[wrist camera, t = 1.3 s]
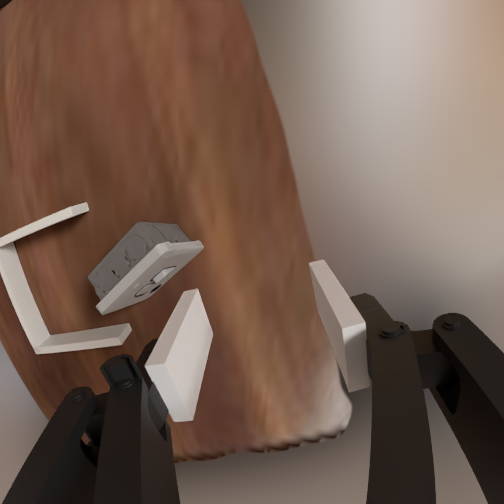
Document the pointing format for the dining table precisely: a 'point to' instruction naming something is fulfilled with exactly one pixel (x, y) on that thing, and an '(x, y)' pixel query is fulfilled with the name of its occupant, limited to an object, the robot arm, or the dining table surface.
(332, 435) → the dining table surface
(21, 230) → the u-shaped bracket
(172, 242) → the electrical switch
